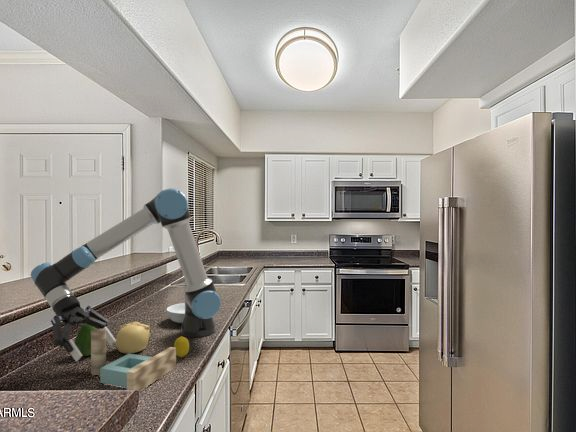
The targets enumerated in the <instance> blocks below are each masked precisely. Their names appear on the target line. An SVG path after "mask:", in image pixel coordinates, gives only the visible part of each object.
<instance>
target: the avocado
mask: <svg viewBox="0 0 576 432" xmlns="http://www.w3.org/2000/svg"><path fill="white" fill-rule="evenodd" d="M95 329H96V328H95V327H93V326H91V325H88V324H86V323H84V324H83V325H81V327H80V328H79V330H78V332H77V334H76V337H75V339H74V343H75V345H76V346H77V348H78V349H79V351H80V352H81V354H82V355H83V356H86V357H90V356H91V331H92V330H95Z"/></svg>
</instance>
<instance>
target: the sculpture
mask: <svg viewBox="0 0 576 432" xmlns="http://www.w3.org/2000/svg"><path fill="white" fill-rule="evenodd" d="M150 329H151V327H150V325H148V324H144V323H141V322H139V321H132V322H129V323H125V324H122V325H120V326H119V331H118V332H117V335H116V338H115V340H116V342H115V345H116V349H117V350H118V352H120V353H122V354H125V355H127V354H135V353H139V352H141V351H143V350H144V349H146V347H147V345H148V343H149V340H150V335H151V334H150V333H151V331H150Z"/></svg>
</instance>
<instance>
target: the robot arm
mask: <svg viewBox="0 0 576 432" xmlns="http://www.w3.org/2000/svg"><path fill="white" fill-rule="evenodd" d="M188 202H189V201H188V199H187V196H186V195H185V194H184V193H183V192H182V191H181V190H179V189H177V188H166V189H164V190H161V191H160V192H159V193H158V194H156V196H155V197H154V198H152V199H151V200H150V201H149V202H147V203H145V204H144V205H143V207H142V209H140V210H138V211H136V212H135V213H133V214H132V215H130V216H129V217H127V218H125V219H124V220H122V221H120V222H119V223H117V224H115V225H114V226H112V227H110V228H109V229H107V230H106V231H104V232H102V233H101V234H99V235H97V236H96V237H94V238H92V239H91V240H89V241H87V242H85V244H82V245H81V246H79V247H77V248H75V249H73V250H72V251H71V252H70V253H68V254H67V255H65V256H64V257H62V258H61V259H60V260H58V261H57V262H55V263H51V262H43V263H41V264H38V265H36V266H35V267H34V268H33V269H32V270H31V272H30V279H32V281H33V283H34V286H36V288H37V290H39V291H40V293H41V295H42V296H43V298H44V299H45V300H46V302H47V303H48V305H49V306H50V308H52V311H53V312H54V314H55V315H54V316H53V317H52V319H51V320H50V322H51V325H52V331H53V345H54V346H55V347H58V346H59V347H60V348H64V349H65V351H66V352H67V353H68V354H70V356H71V357H72V358H73V360H74V361H75V362H79V360H81V358H82V357H83V356H84V355H82V354H81V352H80V351H79V349H78V348H77V346H76V345H75V341H74V340H73V339H70V335H71V331H72V327H74V326H75V325H79V324H83V325H84V324H85V323H86V324H88V325H91V326H93V327H95V329H106V343H107V344H108V345H109V346H110V347H112V346H113V345H115V344H116V338H115V337H114V335H113V332H112V331H111V329H110V328H109V325H110V324H111V323H112V322H111V321H110V320H109V319H108V318H106V316H103V315H102V314H100V313H98V311H96V310H94V309H93V308H92V306H90V305H87V306H86V307H85V308H82V307H81V303H80V301H79V300H78V298H77V296H76V295H74V293H73V291H72V290H71V288H70V287H69V285H68V284H67V282H68V281H70V280H71V279H72V278H74V277H75V276H77V275H78V274H80V273H81V272H82V271H85V269H87V268H89V267H90V266H91V265H92V264H95V262H96V260H98V259H99V258H102V256H104V255H106V254H107V253H109V252H111V251H112V250H113V249H115V248H117V247H118V246H120V245H122V244H123V243H125V242H127V241H129V240H130V239H131V238H133V237H134V236H136V235H137V234H139V233H141V232H143V231H144V230H146V229H147V228H149V227H150V226H153V225H154V224H156V225H158V224H161V227H162V228H164V229H166V230H167V232H168V235H169V238H170V240H171V243H172V247H173V250H174V252H175V254H176V258H177V261H178V263H179V266H180V270H181V272H182V275H183V277H184V280H185V283H184V303H185V317H184V320H183V323H181V327H180V334H181V336H183V337H186V338H200V337H206V336H210V335H212V334H214V333H215V332H216V329H217V327H216V322H215V320H214V316H216V315H217V314H218V312H219V311H220V309H221V306H222V300H221V296H220V294H218V292H217V290H216V288H215V284H214V281H213V279H212V278H210V277H208V274H207V272H206V270H205V266H204V263H203V259H202V257H201V255H200V252H199V249H198V246H197V242H196V239H195V237H194V233H193V231H192V228H191V226H190V225H191V224H190V221H191V219H192V216H191V212H190V210H189V203H188ZM62 323H64V326H63V331H62Z"/></svg>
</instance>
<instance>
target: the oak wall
mask: <svg viewBox="0 0 576 432" xmlns="http://www.w3.org/2000/svg"><path fill="white" fill-rule="evenodd" d="M151 357H152V358H150V359H148V360H146V361H145V362H143V363H141V364H139V365H138V366H136V367H134V368H132V369H131V370H129V371H127V389H126V391H127V390H138V391H139V390H140V391H141V390H142V389H144V388H145V387H147V386H148V385H150V384H152V383H153V382H155V381H156V380H158V379H159V378H161V377H162V376H163V375H165V374H166V373H168V372H169V371H171V370H172V369H174V368H175V367H176V368H177V355H176V348H174V346H169V347H167V348H166V349H163V350H162V351H161V352H159V353H157V354H155V355H154V356H151ZM174 370H175V369H174ZM171 372H172V371H171ZM168 374H169V373H168ZM165 376H166V375H165ZM162 378H163V377H162ZM162 378H161V379H162ZM159 380H160V379H159ZM159 380H158V381H159ZM156 382H157V381H156ZM156 382H155V383H156ZM153 384H154V383H153ZM153 384H152V385H153ZM140 391H139V392H140ZM140 393H141V392H140Z"/></svg>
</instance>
